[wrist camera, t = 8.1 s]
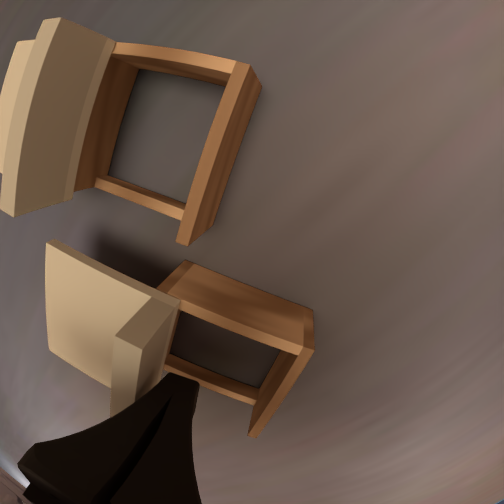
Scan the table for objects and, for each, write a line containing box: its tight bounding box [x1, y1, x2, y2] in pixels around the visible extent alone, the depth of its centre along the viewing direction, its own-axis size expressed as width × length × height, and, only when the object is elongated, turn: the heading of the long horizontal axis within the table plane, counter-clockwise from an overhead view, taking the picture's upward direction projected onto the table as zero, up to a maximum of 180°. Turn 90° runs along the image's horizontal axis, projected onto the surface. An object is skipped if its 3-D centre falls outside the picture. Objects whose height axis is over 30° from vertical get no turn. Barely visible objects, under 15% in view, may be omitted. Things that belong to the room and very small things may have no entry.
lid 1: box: [0, 18, 116, 217], centre depth 8 cm, size 7×7×3 cm
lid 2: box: [45, 239, 180, 418], centre depth 11 cm, size 7×7×3 cm
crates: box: [73, 42, 315, 438], centre depth 11 cm, size 15×29×3 cm, turn 160°
